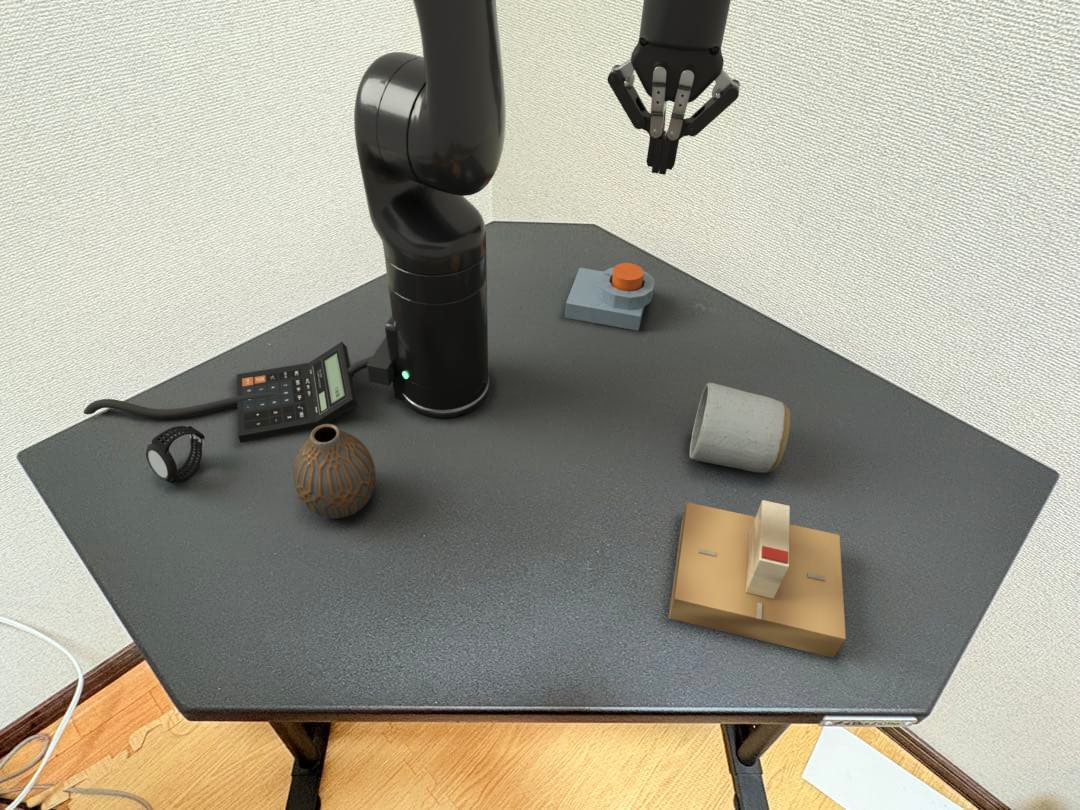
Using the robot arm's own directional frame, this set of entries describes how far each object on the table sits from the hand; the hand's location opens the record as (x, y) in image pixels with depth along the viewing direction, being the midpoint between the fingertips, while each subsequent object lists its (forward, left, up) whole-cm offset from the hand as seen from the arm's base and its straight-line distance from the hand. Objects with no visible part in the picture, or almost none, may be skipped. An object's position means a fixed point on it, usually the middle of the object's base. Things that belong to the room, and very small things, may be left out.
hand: (659, 170), depth 75 cm
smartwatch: (-37, -36, -19) cm, 55 cm away
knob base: (+15, -34, -19) cm, 42 cm away
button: (-2, +2, -15) cm, 16 cm away
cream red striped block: (+15, -34, -16) cm, 41 cm away
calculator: (-32, -24, -19) cm, 44 cm away
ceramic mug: (+12, -18, -19) cm, 29 cm away
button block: (-4, +2, -19) cm, 20 cm away
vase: (-22, -35, -19) cm, 46 cm away
